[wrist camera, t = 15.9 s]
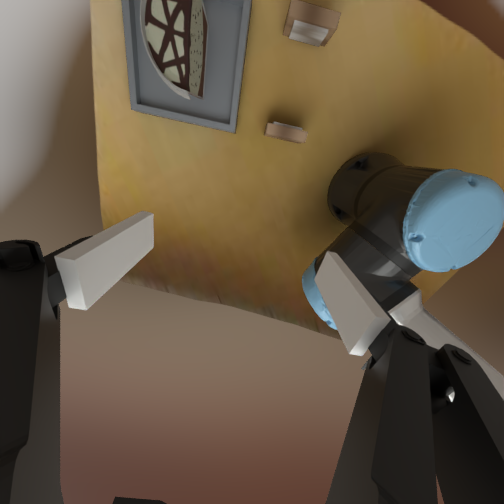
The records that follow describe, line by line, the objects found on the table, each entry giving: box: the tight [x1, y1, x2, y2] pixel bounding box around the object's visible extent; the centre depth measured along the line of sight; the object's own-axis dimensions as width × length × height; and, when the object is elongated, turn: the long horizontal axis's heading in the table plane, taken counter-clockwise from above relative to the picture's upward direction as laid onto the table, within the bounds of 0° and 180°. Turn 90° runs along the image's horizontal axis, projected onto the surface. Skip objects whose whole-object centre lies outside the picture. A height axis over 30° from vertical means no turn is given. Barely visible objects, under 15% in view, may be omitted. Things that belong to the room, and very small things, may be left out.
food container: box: [140, 0, 209, 100], centre depth 27 cm, size 12×6×10 cm, turn 168°
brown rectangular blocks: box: [264, 0, 341, 143], centre depth 31 cm, size 7×16×5 cm, turn 169°
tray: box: [121, 0, 252, 133], centre depth 31 cm, size 18×17×2 cm
